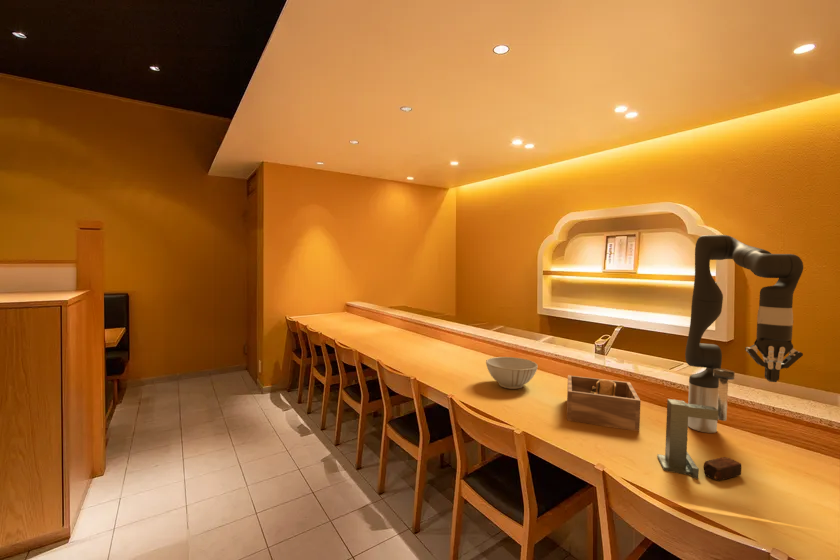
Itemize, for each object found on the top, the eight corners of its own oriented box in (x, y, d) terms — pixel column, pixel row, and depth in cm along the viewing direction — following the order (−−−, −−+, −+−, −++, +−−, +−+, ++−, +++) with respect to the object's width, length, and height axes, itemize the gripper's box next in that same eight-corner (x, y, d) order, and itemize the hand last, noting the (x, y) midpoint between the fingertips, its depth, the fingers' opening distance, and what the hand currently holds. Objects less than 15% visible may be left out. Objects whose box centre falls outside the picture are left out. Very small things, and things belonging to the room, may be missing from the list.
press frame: (656, 454, 126) (658, 394, 125) (706, 463, 121) (709, 400, 120) (665, 472, 115) (667, 406, 114) (720, 483, 110) (723, 414, 109)
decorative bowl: (529, 397, 181) (529, 372, 181) (477, 387, 195) (478, 364, 195) (542, 383, 204) (543, 361, 203) (495, 375, 218) (496, 354, 217)
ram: (708, 415, 117) (711, 367, 117) (728, 417, 116) (730, 369, 115) (714, 421, 113) (717, 371, 112) (735, 423, 111) (737, 373, 110)
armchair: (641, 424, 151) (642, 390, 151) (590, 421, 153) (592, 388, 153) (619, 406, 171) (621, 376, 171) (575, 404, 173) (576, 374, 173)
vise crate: (567, 400, 178) (567, 375, 178) (628, 408, 168) (629, 382, 168) (567, 420, 154) (568, 391, 153) (639, 431, 144) (640, 400, 144)
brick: (741, 476, 113) (724, 468, 118) (742, 463, 113) (725, 455, 118) (717, 482, 110) (701, 473, 114) (718, 468, 110) (701, 460, 114)
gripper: (796, 322, 110) (793, 380, 110) (740, 319, 115) (738, 375, 115) (812, 326, 103) (808, 388, 103) (752, 322, 108) (749, 382, 108)
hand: (771, 381), depth 109 cm, fingers closed
